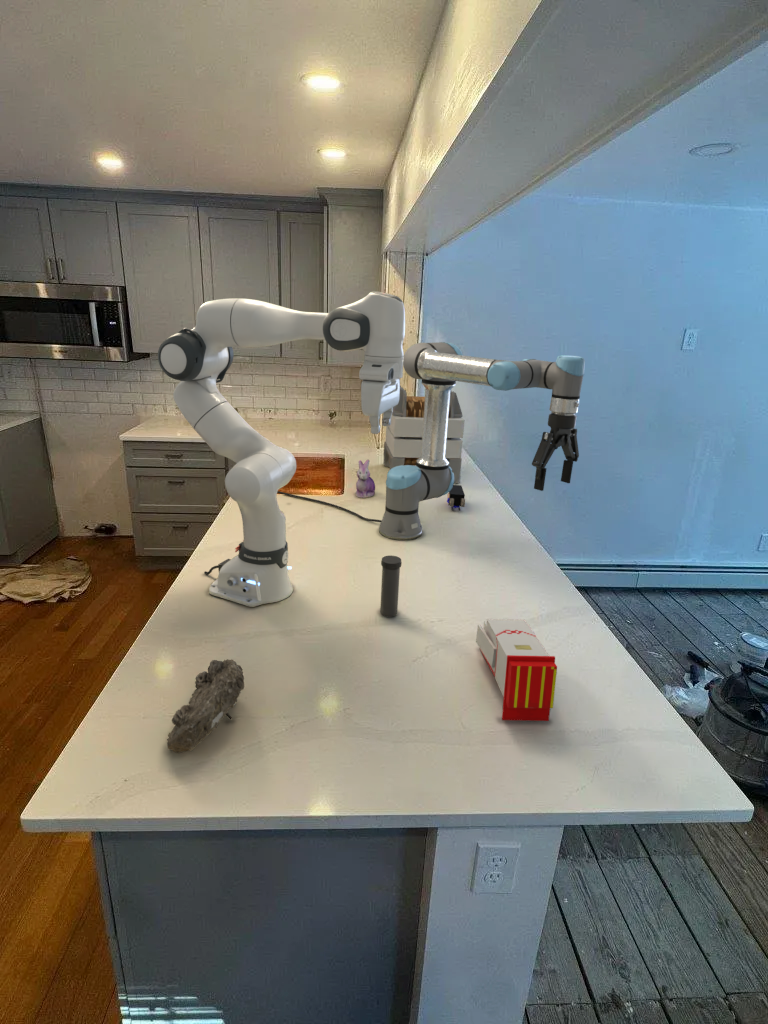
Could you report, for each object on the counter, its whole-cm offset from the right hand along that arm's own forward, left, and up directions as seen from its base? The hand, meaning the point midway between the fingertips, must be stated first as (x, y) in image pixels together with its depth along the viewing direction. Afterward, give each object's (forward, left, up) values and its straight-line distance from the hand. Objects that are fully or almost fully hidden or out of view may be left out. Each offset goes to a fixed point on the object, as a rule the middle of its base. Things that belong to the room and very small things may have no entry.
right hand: (552, 485), depth 166 cm
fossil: (0, -107, -28) cm, 110 cm away
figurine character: (-57, +24, -28) cm, 68 cm away
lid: (-9, -54, -13) cm, 56 cm away
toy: (+28, -51, -28) cm, 65 cm away
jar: (-9, -54, -28) cm, 61 cm away
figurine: (-89, +3, -28) cm, 94 cm away
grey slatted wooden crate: (-101, +46, -28) cm, 115 cm away
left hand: (-13, -56, +20) cm, 61 cm away
